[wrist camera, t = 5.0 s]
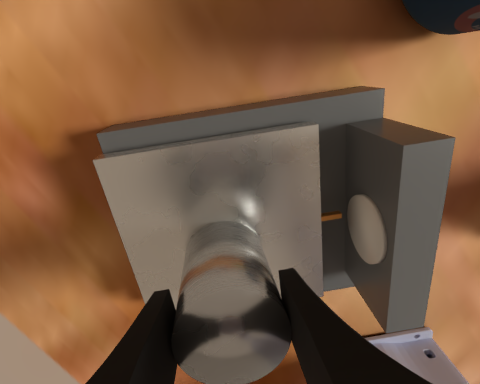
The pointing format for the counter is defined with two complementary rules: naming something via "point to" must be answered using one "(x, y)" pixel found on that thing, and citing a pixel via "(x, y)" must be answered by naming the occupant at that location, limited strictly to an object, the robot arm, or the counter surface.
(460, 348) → the counter surface
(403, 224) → the scale
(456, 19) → the soda can
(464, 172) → the counter surface
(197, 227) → the scale pan
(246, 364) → the steel weight
